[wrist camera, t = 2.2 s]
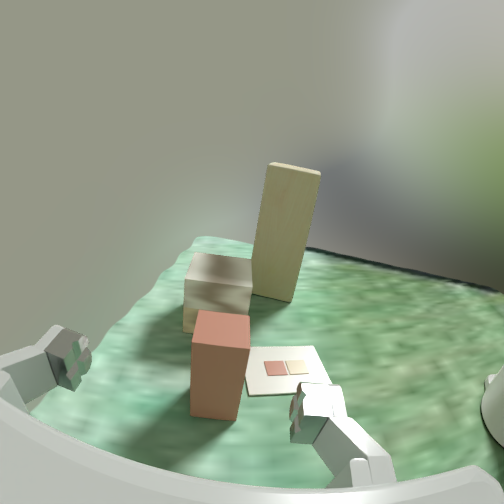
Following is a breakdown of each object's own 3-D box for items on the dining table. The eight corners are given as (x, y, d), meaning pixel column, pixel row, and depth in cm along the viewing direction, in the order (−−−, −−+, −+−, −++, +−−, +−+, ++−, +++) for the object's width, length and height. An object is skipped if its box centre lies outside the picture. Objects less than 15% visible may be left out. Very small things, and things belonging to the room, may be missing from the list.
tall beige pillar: (295, 283, 55) (320, 170, 47) (292, 303, 49) (321, 175, 41) (254, 274, 56) (273, 161, 48) (245, 292, 50) (266, 164, 42)
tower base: (243, 306, 46) (251, 259, 43) (243, 339, 38) (252, 287, 35) (191, 300, 45) (194, 252, 42) (182, 331, 38) (184, 278, 35)
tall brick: (236, 388, 30) (249, 315, 26) (235, 421, 26) (250, 349, 22) (195, 383, 30) (198, 309, 26) (190, 415, 26) (191, 341, 22)
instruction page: (312, 346, 39) (313, 345, 39) (333, 389, 31) (334, 387, 31) (239, 347, 37) (239, 346, 36) (249, 395, 29) (249, 393, 29)
